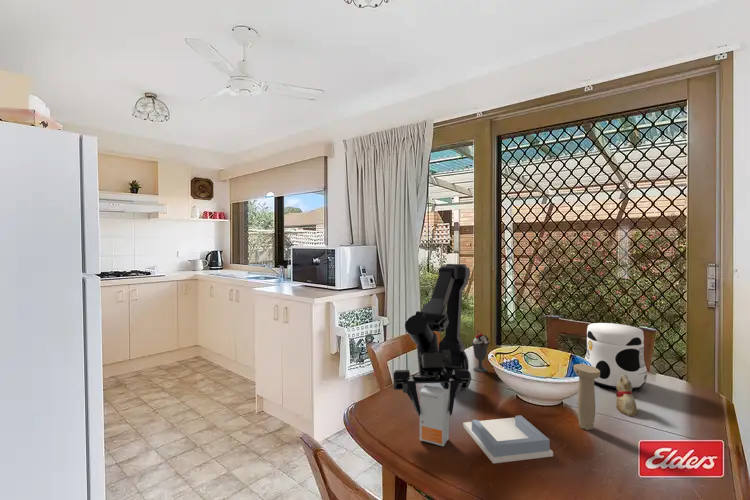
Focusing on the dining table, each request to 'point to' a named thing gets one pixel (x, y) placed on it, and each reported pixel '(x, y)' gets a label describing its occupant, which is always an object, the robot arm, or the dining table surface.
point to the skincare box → (434, 415)
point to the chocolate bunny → (625, 397)
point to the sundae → (480, 350)
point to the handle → (586, 394)
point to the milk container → (616, 353)
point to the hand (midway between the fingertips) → (435, 415)
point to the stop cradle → (509, 439)
